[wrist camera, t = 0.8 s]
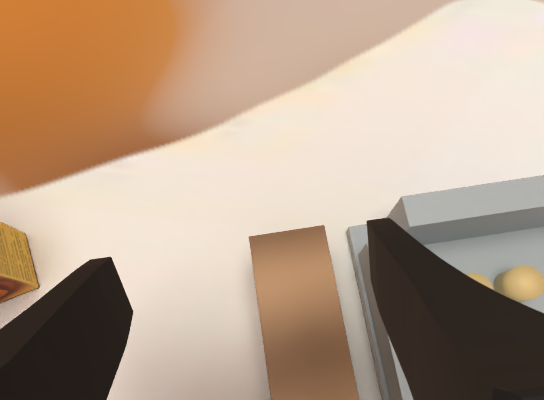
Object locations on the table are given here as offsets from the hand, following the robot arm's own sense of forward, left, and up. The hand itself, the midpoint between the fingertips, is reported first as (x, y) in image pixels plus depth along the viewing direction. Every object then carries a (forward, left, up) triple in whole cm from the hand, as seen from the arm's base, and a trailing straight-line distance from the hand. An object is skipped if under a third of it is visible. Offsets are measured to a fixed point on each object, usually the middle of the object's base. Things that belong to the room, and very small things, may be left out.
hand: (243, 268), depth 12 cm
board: (-3, -2, -15) cm, 15 cm away
